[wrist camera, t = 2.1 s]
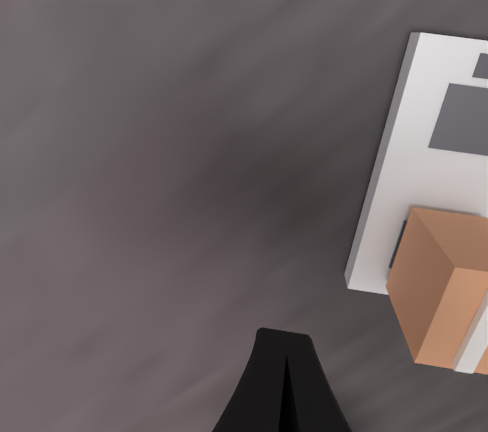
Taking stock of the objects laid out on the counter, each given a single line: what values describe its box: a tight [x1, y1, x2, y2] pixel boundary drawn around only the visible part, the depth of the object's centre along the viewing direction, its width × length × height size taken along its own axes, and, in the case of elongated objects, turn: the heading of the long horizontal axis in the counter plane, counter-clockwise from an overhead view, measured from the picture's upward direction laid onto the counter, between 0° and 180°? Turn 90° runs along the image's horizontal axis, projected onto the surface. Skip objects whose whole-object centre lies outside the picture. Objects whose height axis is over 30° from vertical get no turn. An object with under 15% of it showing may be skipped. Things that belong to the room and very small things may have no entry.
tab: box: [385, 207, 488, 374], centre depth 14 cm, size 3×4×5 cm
